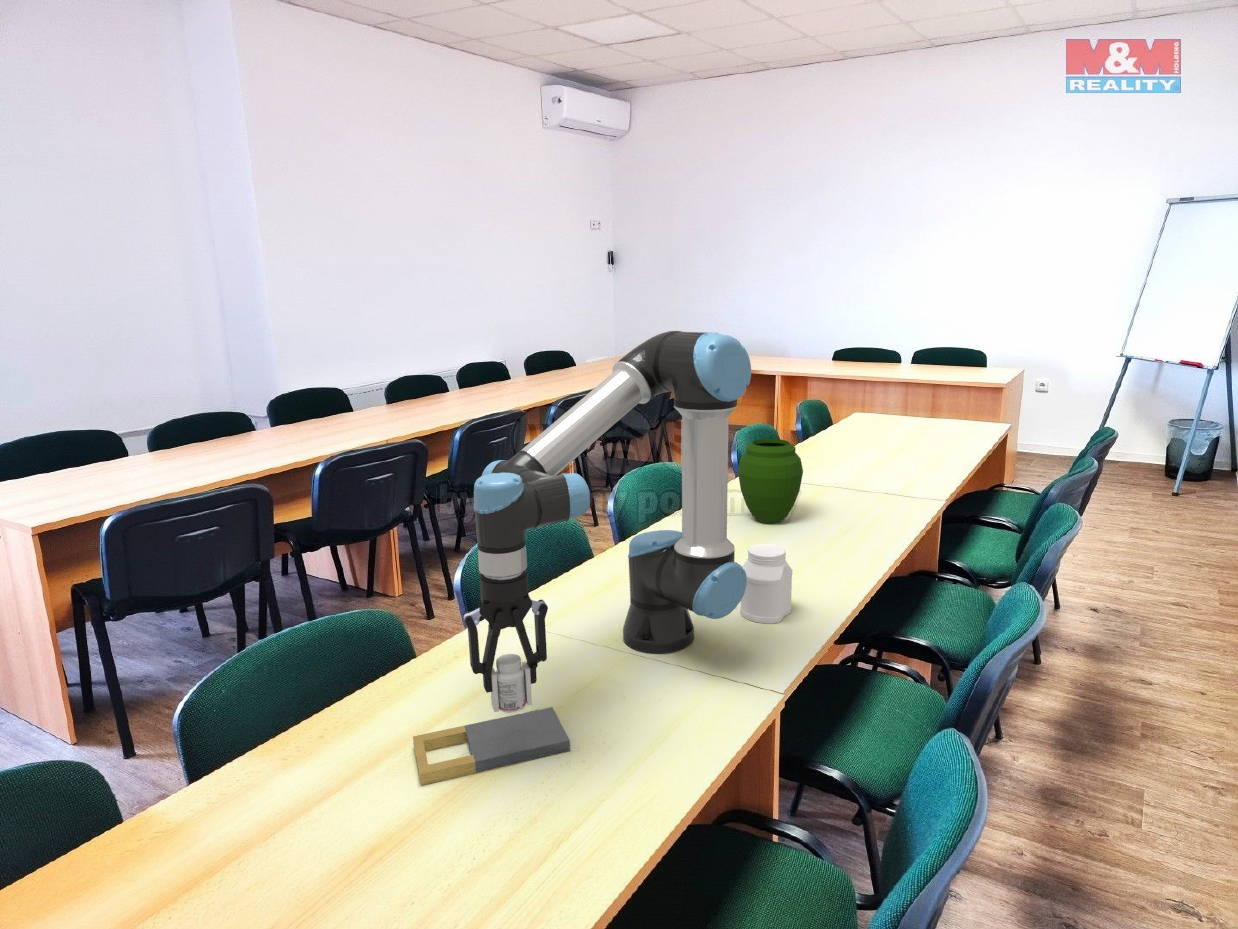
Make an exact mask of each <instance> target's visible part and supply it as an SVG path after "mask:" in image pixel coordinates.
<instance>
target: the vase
mask: <svg viewBox="0 0 1238 929" xmlns="http://www.w3.org/2000/svg"><path fill="white" fill-rule="evenodd" d="M802 463H803V462H802V458H801V457H800V456H799V455H798V454H797V453H796V446H795V445H793V444H792V443H790V442H789V441H788V440H785V439H780V438H779V439H778V438H761V439H756V440H753V441H751V442H750V443H749V444H748V445H746V446H745V452H744V453H743V455H741V457H740V459H739V464H738V468H737V474H738V475H737V476H738V480H739V487H740V492H741V495H742V497H743V500H744V503H745V506H746V508H747V509H748V511H749V513H750V514H751V515H752V516H753V517H754V519H755V520H756V521H757V522H760V523H763V524H778V523H780V522H783V521H784V520H785V519H786V518H787V516H788V515H789V514H790V513H791V510H792V509H793V508H794V507H795V503H796V501H797V499H798V496H799V493H800V491H801V487H802V486H801V485H802V479H803V476H804V475H803V473H804V469H803V464H802Z"/></svg>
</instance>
